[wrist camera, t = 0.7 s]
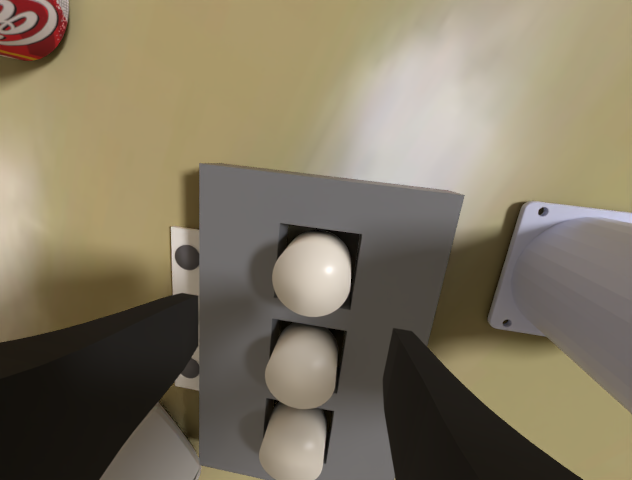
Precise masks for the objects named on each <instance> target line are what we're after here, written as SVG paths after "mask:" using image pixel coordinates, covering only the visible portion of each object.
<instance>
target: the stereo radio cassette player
mask: <svg viewBox="0 0 632 480" xmlns="http://www.w3.org/2000/svg"><path fill="white" fill-rule="evenodd" d="M200 473H201V465H199V458H198V456H197V455H196V451H195V450H194V448H193V447H192V445H191V444H190V442H189V441H188V439H187V438H186V436H185V435H184V434H183V432H182V431H181V430H180V428H179V427H178V426H177V424H176V423H175V422H174V421H173V419H172V418H171V417H170V416H169V414H168V413H167V412H166V411H165V409H164V408H163V407H162V406H161V405H160V403H159V402H157V404H156V405H155V406H154V407H153V409H152V410H151V411H150V412H149V413H148V415H147V416H146V417H145V418H144V420H143V421H142V422H141V423H140V424H139V426H138V427H137V428H136V429H135V430H134V432H133V433H132V434H131V436H130V437H129V438H128V440H127V441H126V442H125V444H124V445H123V446H122V448H121V449H120V450H119V452H118V453H117V455H116V456H115V458H114V459H113V461H112V462H111V464H110V465H109V466H108V468H107V469H106V471H105V472H104V474H103V475H102V477H101V478H100V480H198V478H199V476H200Z"/></svg>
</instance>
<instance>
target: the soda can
mask: <svg viewBox="0 0 632 480" xmlns="http://www.w3.org/2000/svg"><path fill="white" fill-rule="evenodd" d="M68 15H69V0H0V56H4V57H9V58H14V59H19V60H24V61H33V60H37V59H41V58H43V57H45V56H47V55H48V54H50V53H51V52H52V51H53V50H54V49H55V48H56V47H57V46H58V44H59V43H60V41H61V40H62V38H63V35H64V33H65V30H66V27H67V23H68Z"/></svg>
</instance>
